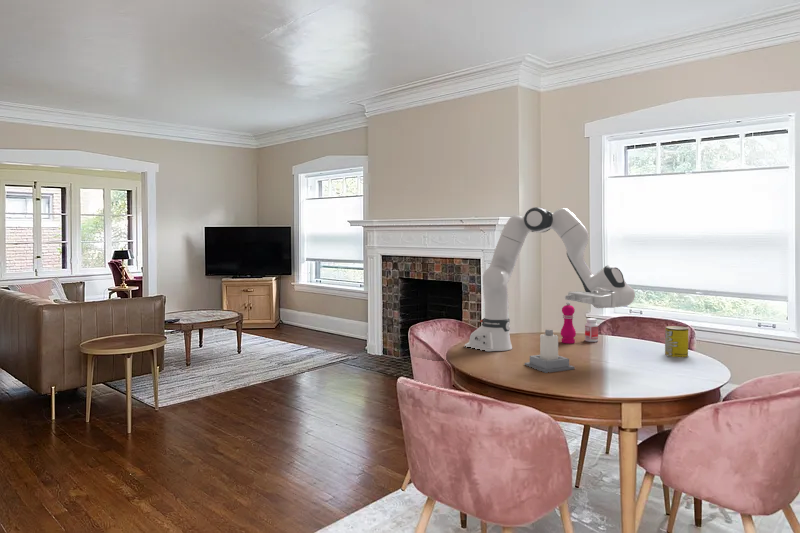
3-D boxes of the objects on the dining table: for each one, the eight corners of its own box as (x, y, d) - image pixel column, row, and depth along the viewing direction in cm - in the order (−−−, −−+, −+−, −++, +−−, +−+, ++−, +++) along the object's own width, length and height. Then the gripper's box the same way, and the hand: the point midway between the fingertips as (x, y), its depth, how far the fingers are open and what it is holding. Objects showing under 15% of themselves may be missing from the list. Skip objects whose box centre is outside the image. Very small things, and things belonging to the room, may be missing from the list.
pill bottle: (599, 340, 279) (599, 318, 278) (597, 342, 274) (597, 320, 273) (586, 339, 282) (586, 317, 281) (583, 341, 277) (584, 319, 276)
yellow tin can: (672, 352, 250) (672, 325, 249) (692, 355, 243) (692, 328, 242) (660, 354, 245) (661, 327, 244) (680, 358, 238) (681, 330, 237)
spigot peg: (540, 364, 227) (540, 329, 226) (550, 362, 229) (550, 328, 228) (547, 366, 222) (547, 331, 221) (558, 365, 224) (558, 330, 223)
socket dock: (524, 365, 229) (524, 355, 229) (552, 361, 234) (552, 352, 234) (545, 372, 216) (545, 362, 216) (574, 369, 221) (574, 359, 221)
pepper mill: (576, 344, 271) (576, 302, 270) (561, 343, 272) (561, 302, 271) (575, 341, 278) (575, 301, 277) (559, 340, 279) (560, 301, 278)
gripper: (583, 287, 243) (557, 288, 238) (618, 292, 224) (590, 294, 219) (583, 302, 243) (557, 303, 238) (617, 308, 224) (590, 310, 219)
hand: (573, 299), depth 228 cm, fingers open, 8 cm apart
